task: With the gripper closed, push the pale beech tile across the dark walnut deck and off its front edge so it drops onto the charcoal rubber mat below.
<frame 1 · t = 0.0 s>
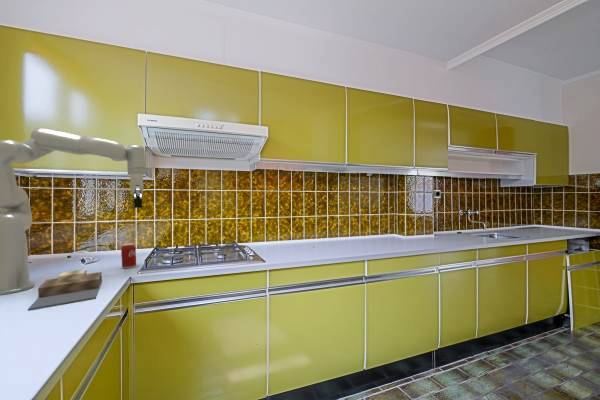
hand: (138, 207, 136), 31 cm above the countertop, tool pointing down, fingers open, 9 cm apart
walnut deck: (73, 289, 112), on the countertop
rubber mat: (66, 299, 102), on the countertop
beech tile: (72, 278, 113), point 4 cm above the countertop, touching walnut deck
beverage can: (129, 267, 144), on the countertop
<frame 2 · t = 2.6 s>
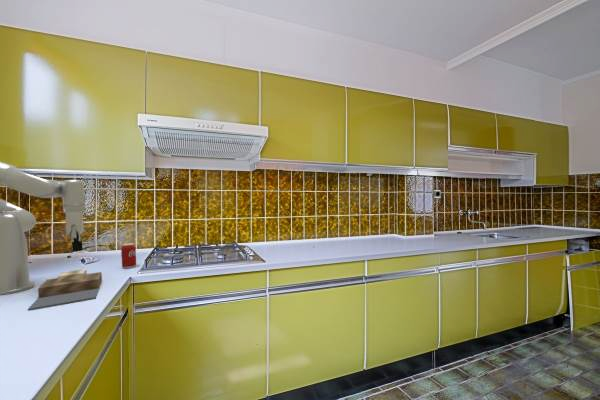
hand: (77, 250, 122), 14 cm above the countertop, tool pointing down, fingers closed
nothing on the countertop moved.
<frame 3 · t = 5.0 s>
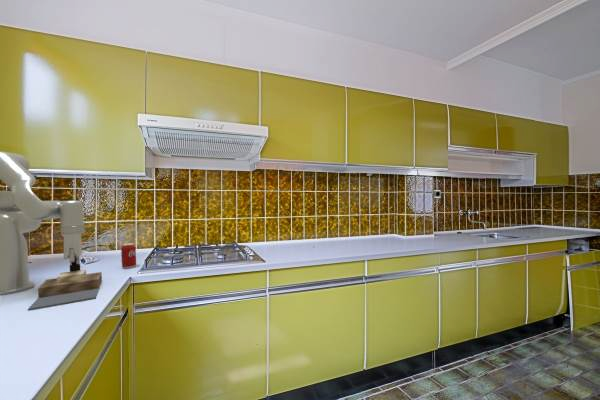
hand: (75, 274, 117), 5 cm above the countertop, tool pointing down, fingers closed
beech tile: (72, 279, 112), point 4 cm above the countertop, touching gripper, walnut deck
everything else where it was.
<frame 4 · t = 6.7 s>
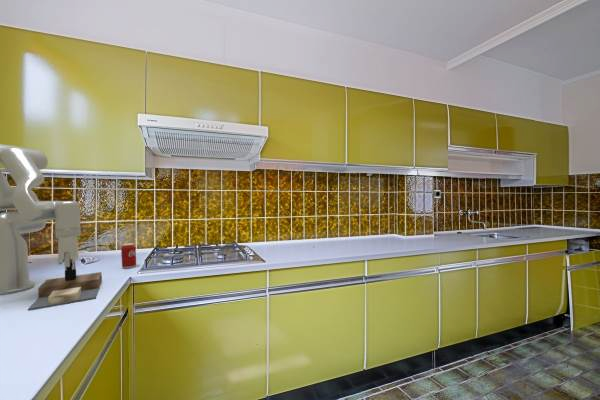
hand: (70, 279, 109), 5 cm above the countertop, tool pointing down, fingers closed
beech tile: (65, 291, 101), point 3 cm above the countertop, tilted 180°, touching rubber mat
everything else where it was.
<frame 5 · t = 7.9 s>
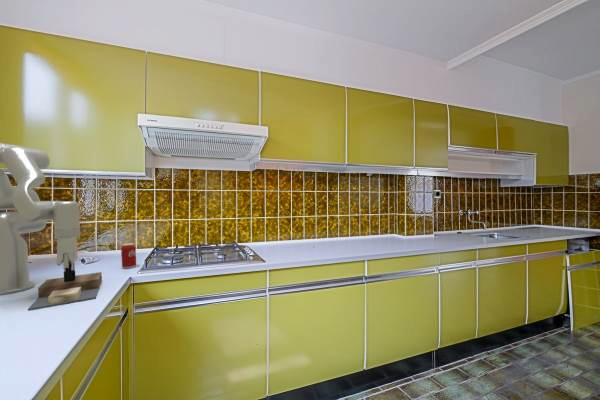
hand: (69, 280, 108), 5 cm above the countertop, tool pointing down, fingers closed
nothing on the countertop moved.
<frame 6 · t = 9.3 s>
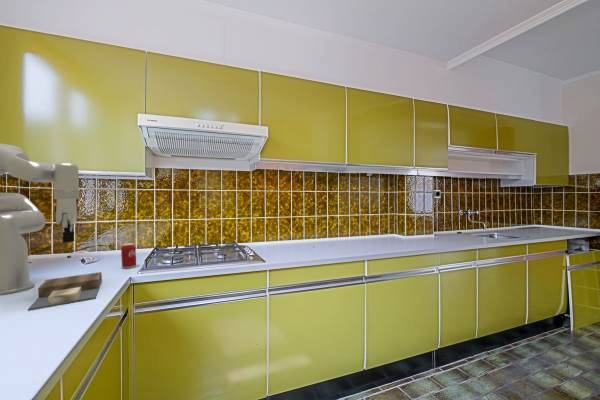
hand: (68, 241, 110), 19 cm above the countertop, tool pointing down, fingers closed
nothing on the countertop moved.
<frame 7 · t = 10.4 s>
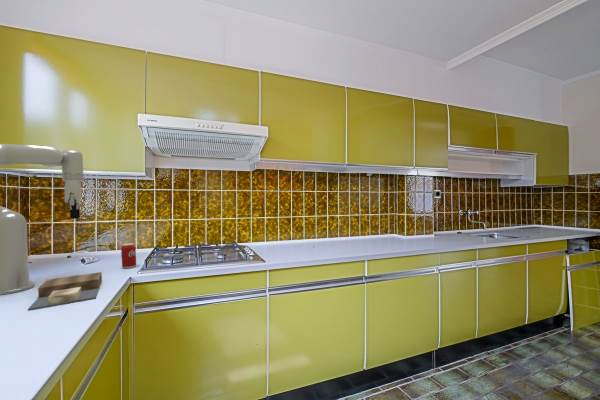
hand: (75, 218, 128), 27 cm above the countertop, tool pointing down, fingers closed
nothing on the countertop moved.
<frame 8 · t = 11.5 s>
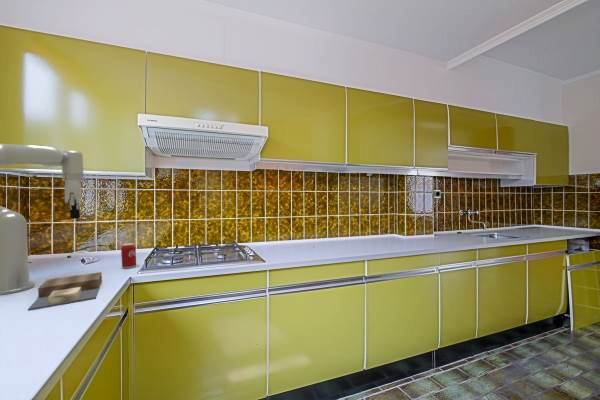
hand: (75, 218, 128), 27 cm above the countertop, tool pointing down, fingers closed
nothing on the countertop moved.
at the end: beech tile inside the target area (0.3 cm from its centre), point 3.1 cm above the countertop; beech tile point 3.1 cm above the countertop; beech tile touching rubber mat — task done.
